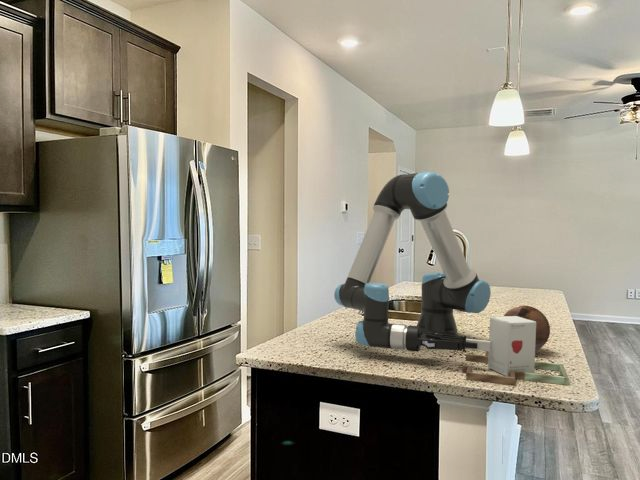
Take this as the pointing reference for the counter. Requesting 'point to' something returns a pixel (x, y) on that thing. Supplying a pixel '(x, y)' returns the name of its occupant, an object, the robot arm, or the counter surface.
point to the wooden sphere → (538, 317)
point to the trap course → (516, 373)
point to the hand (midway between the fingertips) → (489, 346)
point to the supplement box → (512, 344)
